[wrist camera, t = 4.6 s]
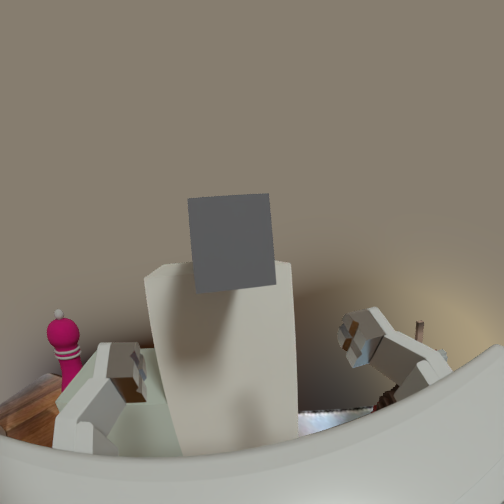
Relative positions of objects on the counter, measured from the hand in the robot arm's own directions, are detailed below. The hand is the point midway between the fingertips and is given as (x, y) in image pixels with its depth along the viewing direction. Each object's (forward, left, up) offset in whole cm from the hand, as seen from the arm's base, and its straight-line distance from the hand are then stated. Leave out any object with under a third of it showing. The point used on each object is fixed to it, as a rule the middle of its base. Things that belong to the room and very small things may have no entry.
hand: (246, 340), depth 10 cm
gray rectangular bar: (+4, +12, +2) cm, 13 cm away
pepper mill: (-13, +38, -25) cm, 47 cm away
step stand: (+1, +18, -24) cm, 30 cm away
